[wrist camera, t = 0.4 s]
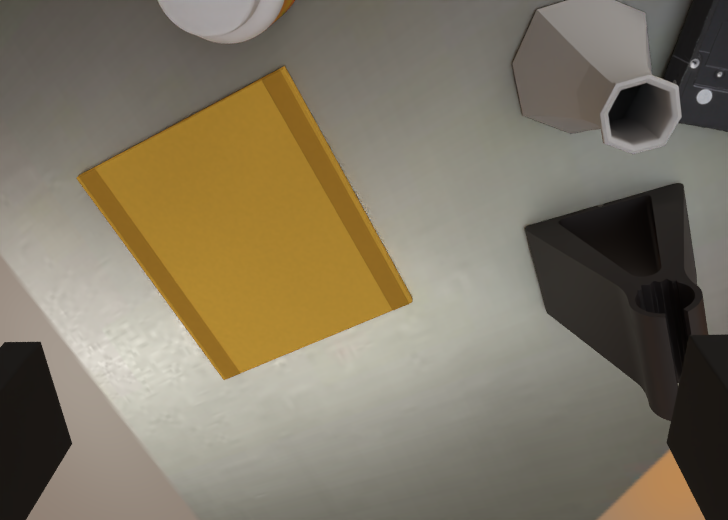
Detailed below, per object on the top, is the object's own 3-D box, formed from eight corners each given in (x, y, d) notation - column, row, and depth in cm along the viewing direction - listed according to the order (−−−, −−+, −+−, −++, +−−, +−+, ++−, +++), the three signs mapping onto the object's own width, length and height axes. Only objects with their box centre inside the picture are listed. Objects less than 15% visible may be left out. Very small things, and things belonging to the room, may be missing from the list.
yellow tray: (79, 175, 40) (75, 178, 39) (284, 65, 36) (283, 67, 36) (225, 375, 46) (223, 380, 46) (412, 298, 43) (412, 302, 42)
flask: (665, -7, 34) (760, 22, 25) (636, 134, 37) (710, 204, 28) (520, -11, 34) (563, 16, 25) (503, 129, 38) (536, 197, 29)
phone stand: (545, 309, 43) (594, 442, 32) (523, 225, 40) (569, 339, 29) (693, 271, 41) (798, 398, 30) (681, 181, 38) (790, 285, 28)
